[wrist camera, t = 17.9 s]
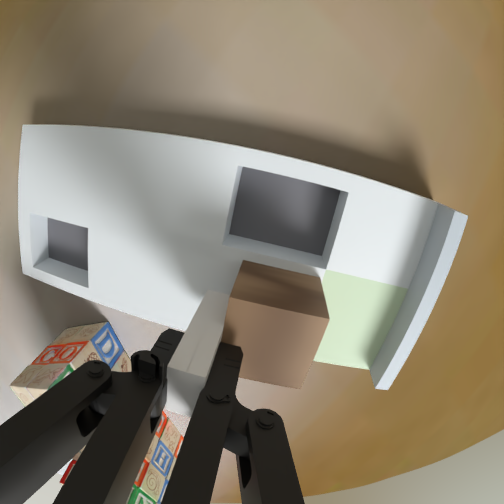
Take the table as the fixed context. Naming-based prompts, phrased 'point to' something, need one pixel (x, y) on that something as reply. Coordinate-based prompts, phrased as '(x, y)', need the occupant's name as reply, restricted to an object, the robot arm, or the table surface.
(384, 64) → the table surface
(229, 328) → the walnut block
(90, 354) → the stack of blocks
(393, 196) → the box
